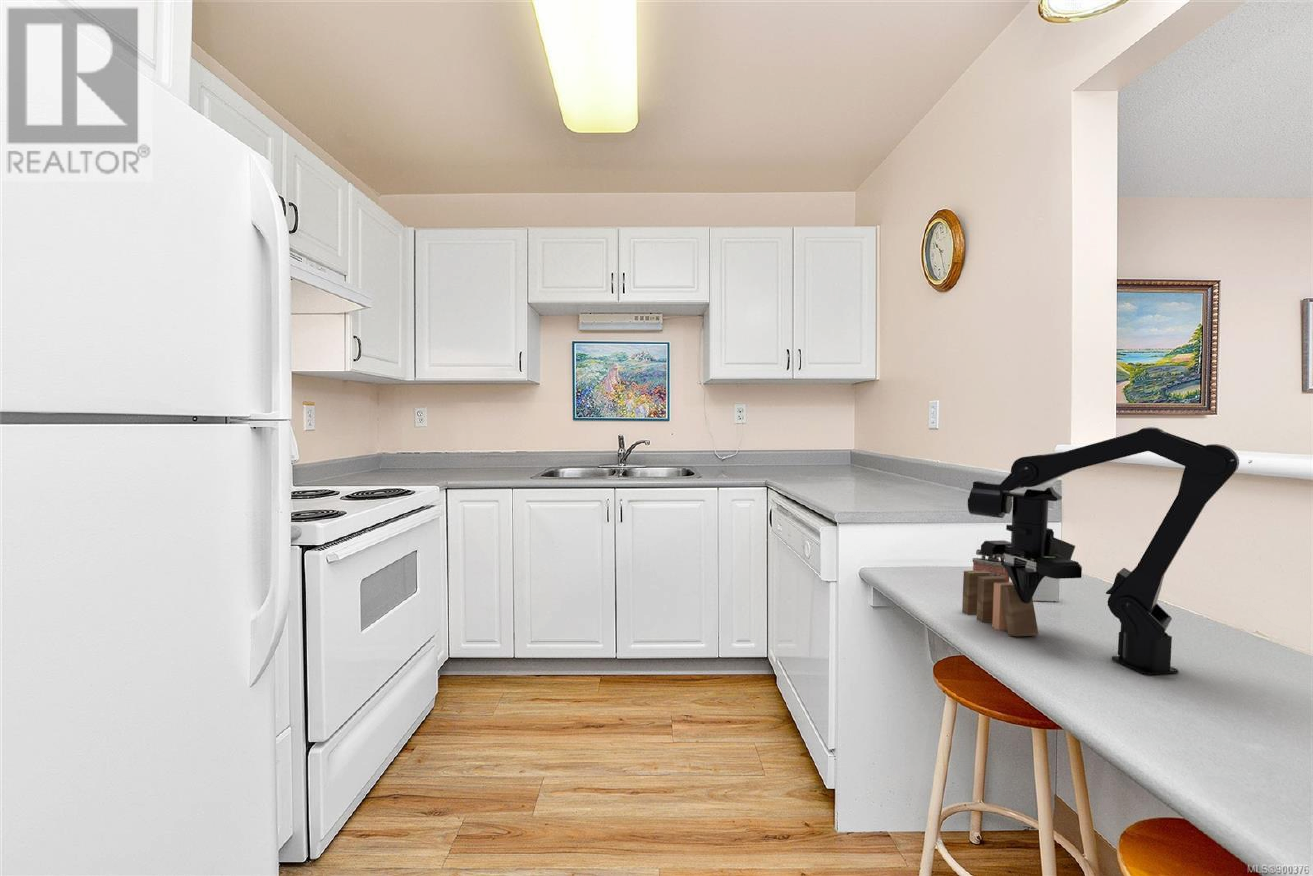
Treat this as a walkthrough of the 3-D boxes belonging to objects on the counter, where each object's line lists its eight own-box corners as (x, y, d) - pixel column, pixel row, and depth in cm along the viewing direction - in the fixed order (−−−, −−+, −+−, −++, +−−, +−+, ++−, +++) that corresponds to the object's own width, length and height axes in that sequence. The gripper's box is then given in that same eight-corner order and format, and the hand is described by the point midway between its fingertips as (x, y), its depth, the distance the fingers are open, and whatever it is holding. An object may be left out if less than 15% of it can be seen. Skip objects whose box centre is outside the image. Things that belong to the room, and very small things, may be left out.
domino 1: (988, 614, 127) (990, 572, 127) (967, 615, 126) (969, 573, 126) (983, 611, 129) (984, 570, 128) (962, 612, 128) (963, 571, 127)
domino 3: (992, 627, 119) (993, 582, 119) (1014, 626, 120) (1016, 582, 119) (998, 630, 117) (1000, 585, 117) (1021, 629, 118) (1023, 584, 118)
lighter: (1009, 592, 143) (1011, 551, 143) (1009, 595, 140) (1011, 554, 140) (972, 586, 148) (973, 547, 147) (970, 590, 145) (972, 549, 144)
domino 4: (1038, 635, 114) (1030, 586, 116) (1015, 636, 113) (1007, 587, 115) (1031, 634, 115) (1023, 586, 117) (1008, 635, 115) (1000, 587, 117)
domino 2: (1004, 621, 122) (1006, 578, 122) (982, 622, 122) (984, 579, 121) (998, 618, 124) (999, 576, 124) (976, 619, 123) (978, 576, 123)
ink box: (1049, 597, 140) (1052, 540, 139) (1059, 602, 136) (1061, 544, 135) (1018, 596, 141) (1020, 539, 140) (1027, 601, 137) (1029, 543, 136)
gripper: (1110, 531, 105) (1106, 618, 106) (1028, 513, 123) (1024, 587, 124) (1055, 531, 103) (1051, 620, 104) (980, 513, 122) (977, 588, 122)
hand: (1025, 602), depth 114 cm, fingers closed
